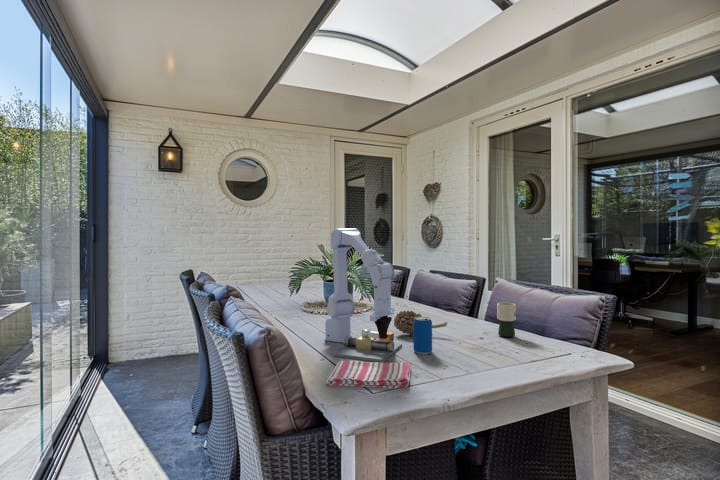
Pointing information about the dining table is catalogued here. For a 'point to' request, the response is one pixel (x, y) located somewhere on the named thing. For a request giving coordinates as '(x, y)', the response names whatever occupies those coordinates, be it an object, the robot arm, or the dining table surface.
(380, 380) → the dish towel
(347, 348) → the base board
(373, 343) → the valve pipe
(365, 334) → the valve lever
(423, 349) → the beverage can
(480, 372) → the dining table surface
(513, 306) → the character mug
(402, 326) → the pine cone
